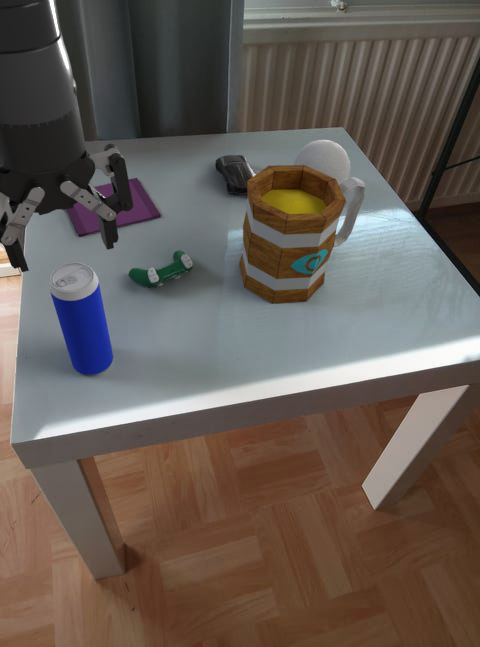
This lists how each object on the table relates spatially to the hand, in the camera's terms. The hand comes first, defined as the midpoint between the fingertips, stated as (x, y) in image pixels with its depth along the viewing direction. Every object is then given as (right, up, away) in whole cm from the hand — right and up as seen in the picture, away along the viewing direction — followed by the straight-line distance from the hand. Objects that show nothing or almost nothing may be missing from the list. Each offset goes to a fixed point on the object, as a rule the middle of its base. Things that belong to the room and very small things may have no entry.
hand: (66, 255), depth 51 cm
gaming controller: (+6, 0, +25) cm, 26 cm away
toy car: (+17, +20, +43) cm, 50 cm away
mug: (+27, +2, +28) cm, 39 cm away
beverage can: (-1, -12, +14) cm, 18 cm away
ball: (+32, +17, +42) cm, 56 cm away
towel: (-5, +13, +35) cm, 38 cm away
